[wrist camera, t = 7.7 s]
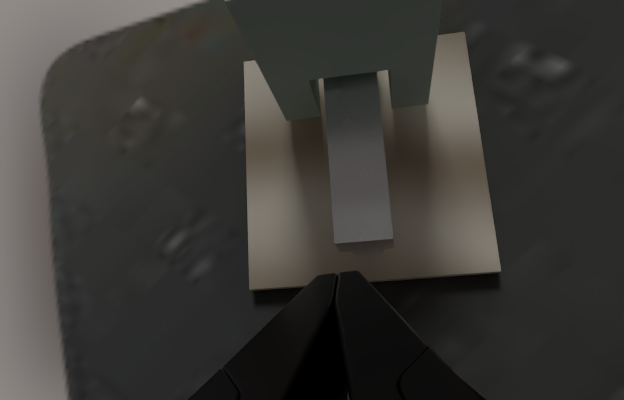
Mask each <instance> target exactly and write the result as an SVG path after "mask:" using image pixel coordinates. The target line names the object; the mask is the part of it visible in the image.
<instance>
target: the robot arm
mask: <svg viewBox="0 0 624 400" xmlns="http://www.w3.org/2000/svg"><path fill="white" fill-rule="evenodd" d="M348 393H349V398H350V400H486V399H485V398H483V397H482V396H481V395H480V394H478V393H477V392H476V391H475V390H474V389H473V388H471V387H470V386H469V385H468V384H467V383H465V382H464V381H463V380H462V379H461V378H460V377H459V376H458V375H457V374H456V373H455V372H454V371H453V370H451V369H450V368H449V367H448V366H447V365H446V364H445V363H444V362H443V361H442V359H441V358H440V357H439V356H438V355H437V354H436V353H435V352H434V351H433V350H432V349H430V347H429V346H428V345H427V344H426V343H425V342H424V341H423V340H422V339H421V338H420V336H419V335H418V334H417V333H416V332H415V331H414V330H413V329H412V328H411V327H410V326H409V325H408V323H407V322H406V321H405V320H404V319H403V318H402V317H401V316H400V315H399V314H398V313H397V311H396V310H395V309H394V308H393V307H392V306H391V305H390V304H389V303H388V302H387V301H386V300H385V298H384V297H383V296H382V295H381V294H380V293H379V292H378V291H377V290H376V289H375V288H374V287H373V285H372V284H371V283H370V282H369V281H368V280H367V279H366V278H365V277H364V276H363V275H362V274H361V272H360V271H358V270H354V271H346V272H340V273H339V275H337V274H336V273H329V274H321V275H318V276H316V277H315V278H314V279H313V280H312V281H311V282H310V283H309V284H308V285H307V286H306V287H305V288H304V289H303V290H302V291H301V292H300V293H299V294H297V295H296V296H295V297H294V298H293V299H292V300H291V301H290V302H289V303H288V304H287V305H286V306H285V307H284V308H283V309H282V310H281V311H280V312H279V313H278V314H277V315H276V316H275V317H274V318H273V319H272V320H271V321H270V322H269V323H268V324H267V325H266V326H265V327H264V328H263V329H262V330H261V331H260V332H259V333H258V334H257V335H256V336H254V337H253V338H252V339H251V340H250V341H249V342H248V343H247V344H246V345H245V346H244V347H243V348H242V349H241V350H240V351H239V352H238V353H237V354H236V355H235V356H234V357H233V358H232V359H231V360H230V361H229V362H228V363H227V364H226V365H225V366H224V367H223V370H222V369H220V370H219V371H218V372H217V373H216V374H215V375H214V376H213V377H211V378H210V379H209V380H208V381H207V382H206V383H205V384H204V385H203V386H202V387H201V388H200V389H199V390H198V391H197V392H195V393H194V394H193V395H192V396H191V397H190V398H189V399H188V400H347V394H348Z"/></svg>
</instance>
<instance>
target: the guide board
mask: <svg viewBox="0 0 624 400" xmlns="http://www.w3.org/2000/svg"><path fill="white" fill-rule="evenodd" d="M377 79H378V89H379V99H380V109H381V120H382V130H383V140H384V150H385V160H386V170H387V180H388V190H389V200H390V210H391V220H392V230H393V243H394V248H391V249H383V251H384V252H380V253H367V254H355V255H354V254H353V252H340V251H339V249H338V248H337V247H336V245H335V243H334V228H333V214H332V199H331V185H330V170H329V156H328V141H327V127H326V112H325V98H324V83H323V78H322V79H319V94H320V109H321V117H316V118H307V119H299V120H290V121H286V119H285V117H284V115H283V113H282V111H281V109H280V107H279V105H278V103H277V101H276V99H275V97H274V96H273V94H272V92H271V90H270V88H269V86H268V84H267V82H266V80H265V78H264V76H263V74H262V72H261V70H260V68H259V66H258V65H257V63H256V61H247V62H244V86H245V128H246V170H247V211H248V253H249V290H252V291H258V290H271V289H285V288H299V287H306V286H307V285H308V284H309V283H310V282H311V281H312V280H313V279H314V278H315V277H316V276H318V275H321V274H329V273H336V274H337V275H339V273H340V272H346V271H354V270H358V271H360V272H361V274H362V275H363V276H364V277H365V278H366V279H367V280H368V281H369V282H381V281H395V280H409V279H422V278H436V277H450V276H464V275H477V274H491V273H499V272H501V267H500V260H499V254H498V247H497V241H496V234H495V228H494V221H493V215H492V208H491V202H490V195H489V188H488V182H487V175H486V169H485V162H484V156H483V149H482V143H481V136H480V130H479V123H478V117H477V110H476V103H475V97H474V90H473V84H472V77H471V71H470V64H469V58H468V51H467V45H466V38H465V32H459V33H452V34H445V35H438V37H437V44H436V51H435V58H434V66H433V73H432V80H431V87H430V95H429V102H428V104H425V105H417V106H408V107H400V108H392V106H391V96H390V87H389V78H388V70H384V71H377Z"/></svg>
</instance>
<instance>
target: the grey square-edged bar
mask: <svg viewBox="0 0 624 400" xmlns="http://www.w3.org/2000/svg"><path fill="white" fill-rule="evenodd" d="M323 83H324V98H325V112H326V127H327V141H328V156H329V170H330V185H331V199H332V214H333V228H334V243H335V245H336V247H337V248H338V249H339V251H340V252H353V254H354V255H355V254H367V253H380V252H384V251H383V249H391V248H394V243H393V230H392V220H391V210H390V200H389V190H388V180H387V170H386V160H385V150H384V140H383V130H382V120H381V109H380V99H379V89H378V79H377V71H376V72H368V73H361V74H353V75H345V76H338V77H330V78H323Z"/></svg>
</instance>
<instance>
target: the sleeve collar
mask: <svg viewBox="0 0 624 400" xmlns="http://www.w3.org/2000/svg"><path fill="white" fill-rule="evenodd" d="M225 2H226V4H227V6H228V8H229V10H230V12H231V14H232V16H233V18H234V20H235V22H236V24H237V26H238V28H239V30H240V32H241V33H242V35H243V37H244V39H245V41H246V43H247V45H248V47H249V49H250V51H251V53H252V55H253V57H254V59H255V61H256V63H257V65H258V66H259V68H260V70H261V72H262V74H263V76H264V78H265V80H266V82H267V84H268V86H269V88H270V90H271V92H272V94H273V96H274V97H275V99H276V101H277V103H278V105H279V107H280V109H281V111H282V113H283V115H284V117H285V119H286V121H290V120H299V119H307V118H316V117H321V109H320V94H319V79H322V78H330V77H338V76H345V75H353V74H361V73H368V72H376V71H384V70H388V78H389V87H390V96H391V106H392V108H400V107H408V106H417V105H425V104H428V102H429V95H430V87H431V80H432V73H433V66H434V58H435V51H436V44H437V37H438V29H439V22H440V15H441V8H442V0H225Z"/></svg>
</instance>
